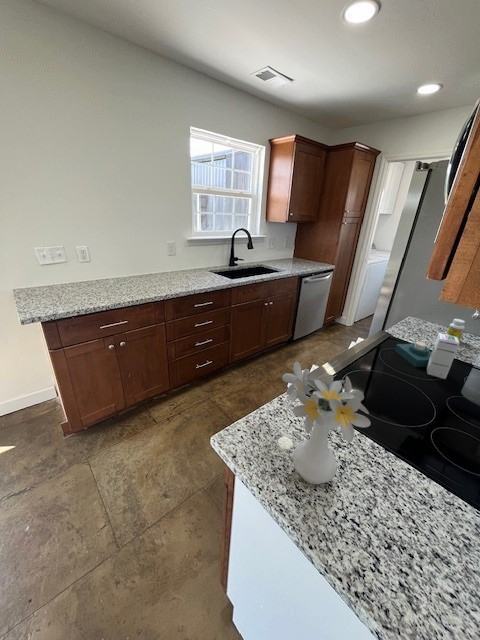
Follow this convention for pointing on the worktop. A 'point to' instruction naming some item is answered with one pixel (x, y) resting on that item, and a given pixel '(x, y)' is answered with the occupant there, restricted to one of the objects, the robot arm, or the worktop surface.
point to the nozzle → (420, 345)
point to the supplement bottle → (456, 328)
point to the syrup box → (442, 355)
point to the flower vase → (322, 421)
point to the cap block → (414, 354)
